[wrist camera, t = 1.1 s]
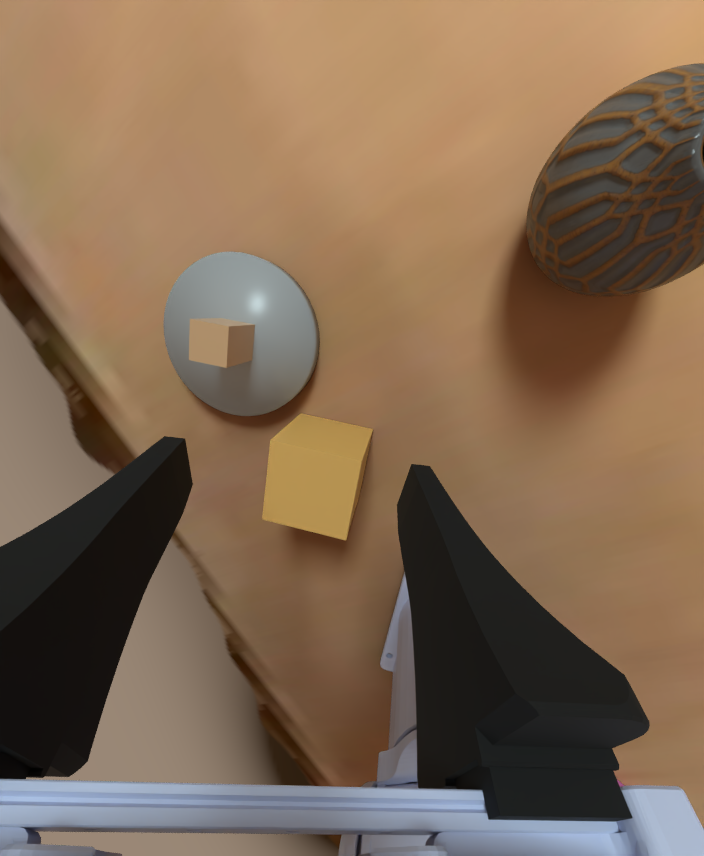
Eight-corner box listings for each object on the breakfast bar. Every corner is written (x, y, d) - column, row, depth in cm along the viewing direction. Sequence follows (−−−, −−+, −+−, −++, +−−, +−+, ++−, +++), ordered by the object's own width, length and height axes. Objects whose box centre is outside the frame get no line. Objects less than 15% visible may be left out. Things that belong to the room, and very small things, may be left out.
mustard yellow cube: (359, 494, 23) (346, 540, 19) (292, 478, 24) (262, 519, 19) (373, 429, 22) (362, 460, 17) (300, 413, 22) (270, 440, 18)
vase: (551, 327, 19) (659, 338, 10) (483, 206, 18) (544, 113, 9) (697, 238, 17) (976, 164, 8) (630, 95, 16) (876, -152, 7)
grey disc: (308, 424, 22) (286, 448, 19) (175, 395, 23) (127, 411, 19) (330, 269, 20) (309, 258, 16) (177, 243, 20) (120, 226, 17)
